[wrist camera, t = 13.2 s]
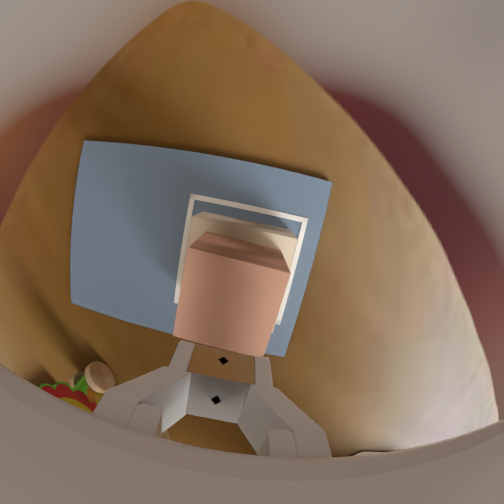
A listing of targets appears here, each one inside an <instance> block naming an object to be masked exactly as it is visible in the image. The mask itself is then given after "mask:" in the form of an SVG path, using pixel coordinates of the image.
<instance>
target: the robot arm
mask: <svg viewBox="0 0 504 504" xmlns="http://www.w3.org/2000/svg"><path fill="white" fill-rule="evenodd" d="M186 414H190V415H195V416H200V417H206V418H211V419H216V420H221V421H226V422H231V423H237V424H238V426H239V427H240V429H241V431H242V432H243V434H244V435H245V437H246V438H247V440H248V441H249V443H250V444H251V446H252V447H253V449H254V450H255V451H256V453H257V454H258V455H249V454H240V453H233V452H226V451H219V450H213V449H208V448H202V447H197V446H193V445H188V444H183V443H179V442H175V441H171V440H167V439H163V438H162V433H163V432H164V431H165V430H167V429H168V428H169V427H171V426H172V425H173V424H175V423H176V422H177V421H179V420H180V419H181V418H182V417H184V416H185V415H186ZM0 504H504V419H503V420H501V421H499V422H496V423H494V424H491V425H489V426H486V427H483V428H481V429H478V430H475V431H472V432H469V433H466V434H463V435H460V436H457V437H454V438H450V439H447V440H443V441H439V442H436V443H431V444H427V445H423V446H418V447H414V448H409V449H403V450H398V451H392V452H360V453H358V454H355V455H354V456H349V457H332V455H331V451H330V448H329V444H328V440H327V437H326V433H325V430H323V429H322V428H321V427H320V426H319V425H318V424H316V423H315V422H314V421H313V420H312V419H311V418H310V417H308V416H307V415H306V414H305V413H304V412H303V411H302V410H301V409H300V408H298V407H297V406H296V405H295V404H294V403H293V402H292V401H291V400H290V399H289V398H288V397H286V396H285V395H284V394H283V393H282V392H281V391H280V390H279V389H278V388H273V382H272V373H271V365H270V359H269V358H268V357H260V356H252V355H245V354H239V353H233V352H228V351H224V350H220V349H216V348H211V347H207V346H203V345H199V344H195V343H191V342H187V341H182V340H181V341H180V342H179V343H178V346H177V348H176V351H175V353H174V355H173V358H172V360H171V362H170V365H169V367H167V366H163V367H161V368H158V369H156V370H154V371H151V372H149V373H147V374H144V375H142V376H140V377H137V378H135V379H132V380H130V381H127V382H125V383H122V384H120V385H117V386H115V387H112V388H110V389H107V391H106V392H105V394H104V395H103V397H102V399H101V400H100V402H99V403H98V405H97V407H96V408H95V410H94V411H93V413H92V414H91V413H89V412H86V411H84V410H82V409H80V408H77V407H75V406H73V405H71V404H69V403H67V402H65V401H63V400H61V399H59V398H57V397H55V396H53V395H51V394H49V393H48V392H46V391H44V390H42V389H40V388H39V387H37V386H35V385H33V384H32V383H30V382H28V381H27V380H25V379H23V378H22V377H20V376H19V375H17V374H16V373H14V372H13V371H11V370H10V369H8V368H7V367H5V366H4V365H2V364H1V363H0Z"/></svg>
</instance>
